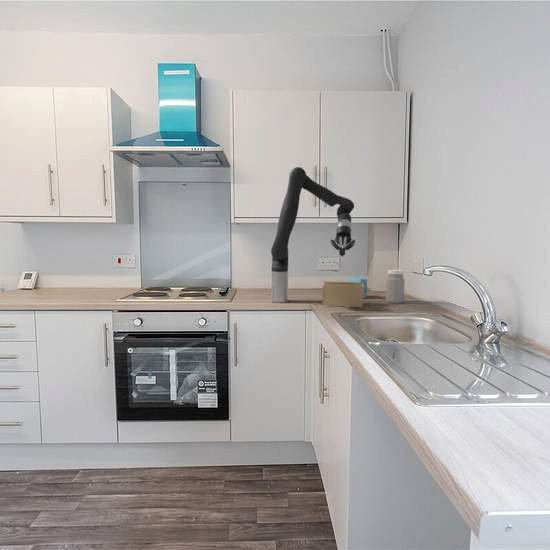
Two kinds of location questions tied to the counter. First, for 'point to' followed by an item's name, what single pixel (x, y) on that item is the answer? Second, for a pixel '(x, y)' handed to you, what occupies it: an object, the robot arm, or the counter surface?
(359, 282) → the flap
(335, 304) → the carton
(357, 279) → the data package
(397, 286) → the jar
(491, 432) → the counter surface
